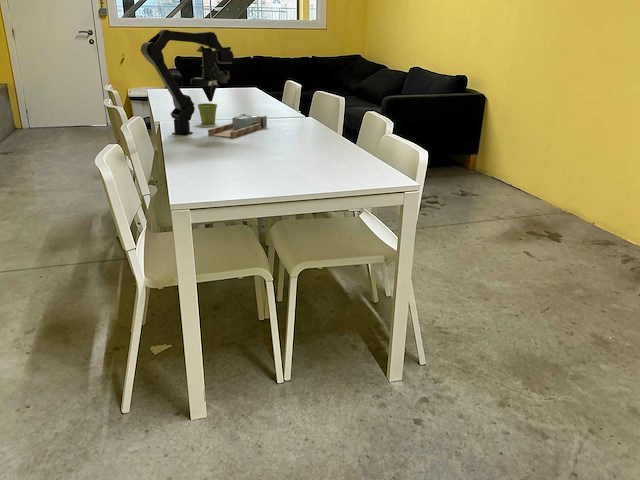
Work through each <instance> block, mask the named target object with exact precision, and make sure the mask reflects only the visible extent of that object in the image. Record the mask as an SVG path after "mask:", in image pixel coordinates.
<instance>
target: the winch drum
mask: <svg viewBox="0 0 640 480" xmlns="http://www.w3.org/2000/svg"><path fill="white" fill-rule="evenodd" d="M240 115H243V116H247V117H250V116H251V115H247V114H245V113H241V114H240ZM252 116H253V117H254V121H256V122H258V124H261V129H265V128H267V127H268V126H267V124H268V123H267V121H268V119H267V118H268V117H267V115H263V116H259V115H257V116H256V115H252Z"/></svg>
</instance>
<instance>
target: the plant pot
mask: <svg viewBox="0 0 640 480" xmlns="http://www.w3.org/2000/svg"><path fill="white" fill-rule="evenodd" d="M196 106H197V108H198V111H199V116H200V121H201V124H203V125H210V124H211V125H214V124H215V123H216V114H217V109H218V104H217V103H212V102H211V103H210V102H209V103H207V102H203V103H198V104H196Z"/></svg>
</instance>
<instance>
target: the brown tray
mask: <svg viewBox="0 0 640 480" xmlns="http://www.w3.org/2000/svg"><path fill="white" fill-rule="evenodd" d="M261 129H262V128H261V124H258V122H256V121H254V125H252V126H248V127H245V128H242V129H234V128H233V122H230V123H227V124H223V125H220V126H216V127H212V128H209V129H207V134H208V136H211V137H218V138H228V139H234V138H238V137H241V136H243V135H247V134H249V133H253V132H257V131H259V130H261Z"/></svg>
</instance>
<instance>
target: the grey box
mask: <svg viewBox="0 0 640 480" xmlns="http://www.w3.org/2000/svg"><path fill="white" fill-rule="evenodd" d="M249 116H250V117H247V116H243V115H241V114H239V115H237V116H234V117H232V119H231V120H232V123H233V128H234V129H242V128H245V127H248V126H252V125H254V117H253V116H254V115H249Z"/></svg>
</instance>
